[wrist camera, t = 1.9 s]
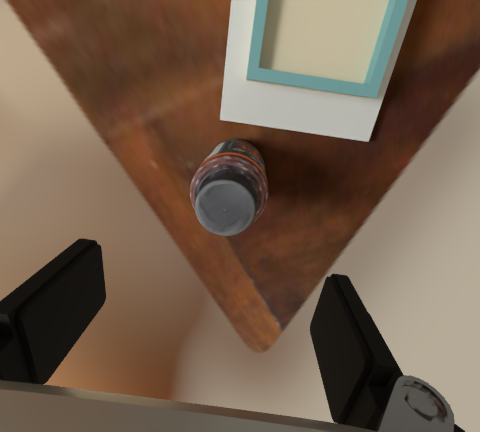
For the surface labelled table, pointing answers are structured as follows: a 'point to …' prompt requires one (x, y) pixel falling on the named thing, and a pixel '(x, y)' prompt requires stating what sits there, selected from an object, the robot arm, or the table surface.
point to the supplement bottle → (230, 188)
